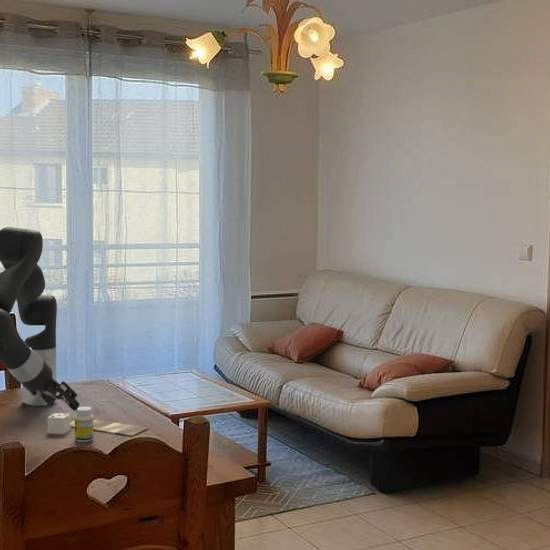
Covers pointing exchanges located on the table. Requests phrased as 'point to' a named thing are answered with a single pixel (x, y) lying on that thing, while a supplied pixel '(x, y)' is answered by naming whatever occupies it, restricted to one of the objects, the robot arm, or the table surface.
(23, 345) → the robot arm
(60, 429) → the die
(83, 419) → the supplement bottle
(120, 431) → the track
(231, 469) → the table surface
